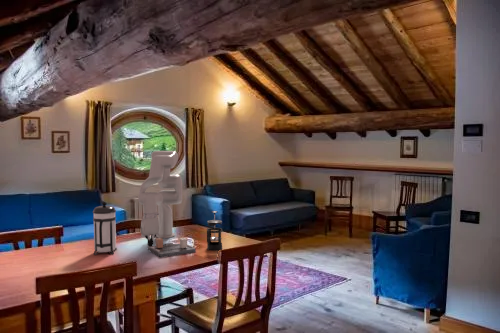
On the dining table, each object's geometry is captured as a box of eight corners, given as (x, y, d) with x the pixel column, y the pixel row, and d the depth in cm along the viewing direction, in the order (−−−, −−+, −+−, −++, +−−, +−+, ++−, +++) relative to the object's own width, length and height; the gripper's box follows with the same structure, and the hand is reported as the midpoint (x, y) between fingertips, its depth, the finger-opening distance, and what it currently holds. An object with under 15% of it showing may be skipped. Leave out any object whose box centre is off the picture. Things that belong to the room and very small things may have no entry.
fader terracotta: (155, 246, 255) (155, 238, 255) (160, 245, 257) (160, 237, 256) (158, 248, 252) (158, 239, 251) (162, 247, 253) (162, 238, 253)
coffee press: (85, 253, 250) (84, 202, 248) (110, 247, 262) (109, 199, 260) (100, 258, 238) (99, 205, 236) (125, 252, 250) (124, 202, 248)
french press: (226, 248, 259) (226, 211, 258) (214, 251, 252) (214, 213, 251) (213, 245, 267) (213, 209, 266) (202, 248, 261) (201, 211, 259)
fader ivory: (179, 246, 255) (179, 238, 255) (184, 246, 257) (184, 237, 256) (182, 248, 252) (182, 239, 251) (187, 247, 253) (187, 238, 253)
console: (147, 250, 257) (147, 245, 256) (181, 245, 269) (181, 240, 268) (160, 257, 240) (160, 252, 240) (195, 252, 252) (195, 247, 252)
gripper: (159, 213, 257) (160, 243, 258) (135, 215, 249) (136, 246, 250) (164, 215, 251) (165, 245, 252) (139, 217, 243) (140, 249, 244)
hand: (150, 246), depth 251 cm, fingers closed
